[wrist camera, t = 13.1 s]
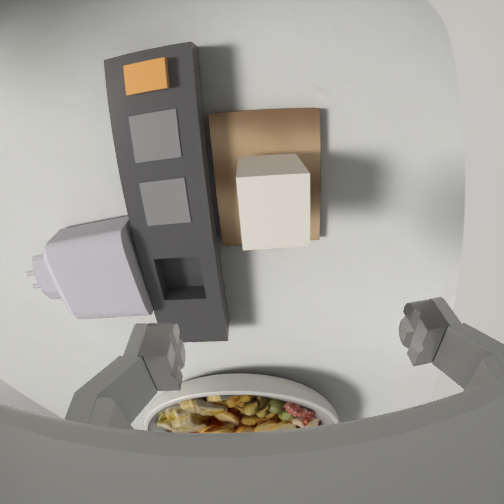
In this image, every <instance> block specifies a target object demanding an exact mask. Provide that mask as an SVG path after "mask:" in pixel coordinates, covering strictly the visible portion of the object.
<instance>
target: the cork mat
mask: <svg viewBox="0 0 504 504" xmlns="http://www.w3.org/2000/svg"><path fill="white" fill-rule="evenodd" d="M208 117H209V127H210V137H211V147H212V157H213V166H214V176H215V185H216V194H217V203H218V211H219V220H220V228H221V236H222V245H223V246H230V245H242V238H241V227H240V217H239V207H238V196H237V185H236V172H237V163H238V157H245V156H259V155H275V154H297V156H298V157H299V159H300V160H301V161H302V163H303V164H304V165H305V167H306V168H307V170H308V171H309V173H310V240H319V236H320V190H321V148H320V109H319V108H285V109H262V110H246V111H233V112H221V113H211V114H208Z"/></svg>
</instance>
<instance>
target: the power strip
mask: <svg viewBox="0 0 504 504" xmlns="http://www.w3.org/2000/svg"><path fill="white" fill-rule="evenodd" d="M104 67H105V78H106V87H107V96H108V104H109V112H110V119H111V126H112V133H113V139H114V145H115V151H116V157H117V163H118V168H119V174H120V179H121V184H122V189H123V194H124V198H125V203H126V208H127V212H128V217H129V221H130V225H131V230H132V234H133V238H134V242H135V246H136V250H137V254H138V257H139V261H140V265H141V269H142V272H143V276H144V280H145V283H146V287H147V290H148V293H149V297H150V300H151V303H152V307H153V310H154V313H155V316H156V320H157V323H176V324H178V327H179V330H180V335H179V338H180V339H181V340H182V341H183V342H207V341H228V331H229V318H228V311H227V305H226V298H225V291H224V283H223V276H222V269H221V261H220V254H219V246H218V239H217V231H216V223H215V215H214V207H213V198H212V190H211V181H210V172H209V163H208V154H207V145H206V135H205V125H204V115H203V105H202V94H201V83H200V72H199V60H198V47H197V46H196V45H195V44H194V43H192V42H187V43H180V44H174V45H168V46H163V47H158V48H153V49H148V50H143V51H139V52H134V53H130V54H126V55H122V56H118V57H114V58H111V59H107V60H104Z"/></svg>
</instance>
